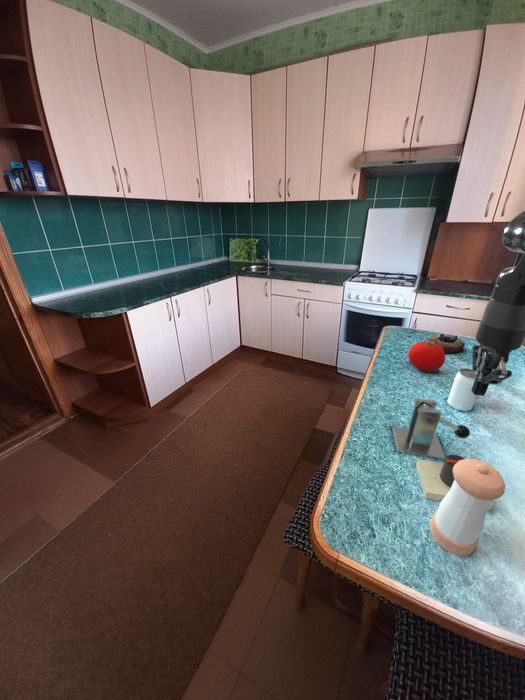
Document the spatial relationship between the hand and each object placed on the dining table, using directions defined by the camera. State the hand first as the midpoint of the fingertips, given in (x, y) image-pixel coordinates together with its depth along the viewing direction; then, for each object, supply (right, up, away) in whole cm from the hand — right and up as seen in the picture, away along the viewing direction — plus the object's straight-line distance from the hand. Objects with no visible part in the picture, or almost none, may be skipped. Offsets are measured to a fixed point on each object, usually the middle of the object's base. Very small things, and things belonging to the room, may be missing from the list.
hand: (477, 393), depth 65 cm
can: (+12, -8, +24) cm, 28 cm away
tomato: (+13, +3, +45) cm, 47 cm away
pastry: (+30, +10, +59) cm, 67 cm away
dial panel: (-8, -21, -2) cm, 22 cm away
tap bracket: (-8, -15, +10) cm, 20 cm away
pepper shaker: (-13, -26, -11) cm, 31 cm away
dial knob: (-8, -18, -3) cm, 20 cm away
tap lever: (-5, -9, +6) cm, 12 cm away
